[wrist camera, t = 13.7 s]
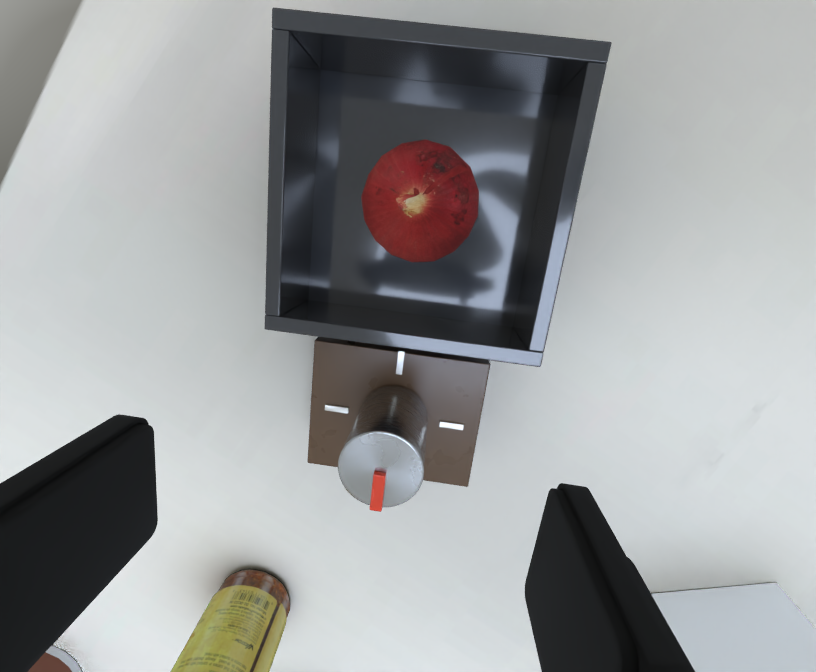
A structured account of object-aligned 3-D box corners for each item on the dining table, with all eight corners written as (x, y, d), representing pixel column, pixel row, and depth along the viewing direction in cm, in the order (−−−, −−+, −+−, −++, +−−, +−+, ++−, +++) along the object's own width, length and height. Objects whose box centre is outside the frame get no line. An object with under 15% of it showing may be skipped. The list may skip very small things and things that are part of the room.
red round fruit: (420, 130, 23) (409, 86, 16) (494, 200, 24) (518, 191, 16) (355, 211, 25) (316, 207, 17) (427, 275, 26) (421, 299, 18)
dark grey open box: (313, 59, 24) (271, 6, 18) (569, 86, 23) (612, 41, 17) (301, 307, 28) (264, 329, 22) (519, 336, 27) (540, 367, 21)
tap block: (334, 320, 28) (313, 339, 23) (483, 340, 27) (491, 363, 23) (326, 429, 30) (306, 465, 26) (463, 449, 30) (467, 490, 25)
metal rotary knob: (363, 380, 24) (339, 428, 18) (432, 390, 24) (429, 441, 18) (357, 441, 25) (333, 505, 19) (423, 451, 25) (417, 518, 19)
